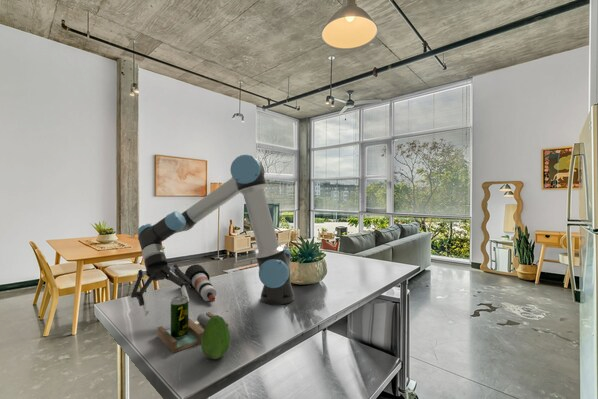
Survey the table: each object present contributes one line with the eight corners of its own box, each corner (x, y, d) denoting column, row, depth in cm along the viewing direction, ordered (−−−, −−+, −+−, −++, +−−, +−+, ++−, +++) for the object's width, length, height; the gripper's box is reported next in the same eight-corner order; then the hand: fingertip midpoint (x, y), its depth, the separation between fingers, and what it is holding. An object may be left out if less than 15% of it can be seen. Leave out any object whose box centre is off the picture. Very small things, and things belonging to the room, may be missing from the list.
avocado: (217, 368, 74) (217, 323, 74) (195, 361, 77) (195, 318, 77) (235, 353, 81) (235, 312, 81) (214, 347, 84) (214, 308, 84)
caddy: (209, 319, 103) (209, 311, 103) (227, 332, 93) (227, 323, 93) (157, 336, 91) (157, 327, 91) (172, 353, 81) (173, 342, 81)
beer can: (166, 337, 88) (166, 300, 88) (179, 330, 93) (179, 294, 93) (179, 340, 86) (179, 302, 86) (192, 333, 91) (192, 296, 91)
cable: (207, 315, 118) (196, 297, 115) (190, 286, 146) (181, 271, 143) (228, 301, 122) (218, 283, 119) (207, 275, 151) (199, 260, 147)
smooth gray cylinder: (196, 323, 97) (198, 313, 98) (204, 322, 100) (206, 313, 100) (207, 331, 91) (209, 321, 91) (216, 330, 93) (218, 321, 94)
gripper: (184, 259, 118) (199, 303, 107) (115, 269, 101) (125, 323, 90) (189, 248, 114) (205, 293, 103) (119, 257, 97) (129, 312, 86)
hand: (168, 307), depth 97 cm, fingers open, 13 cm apart
